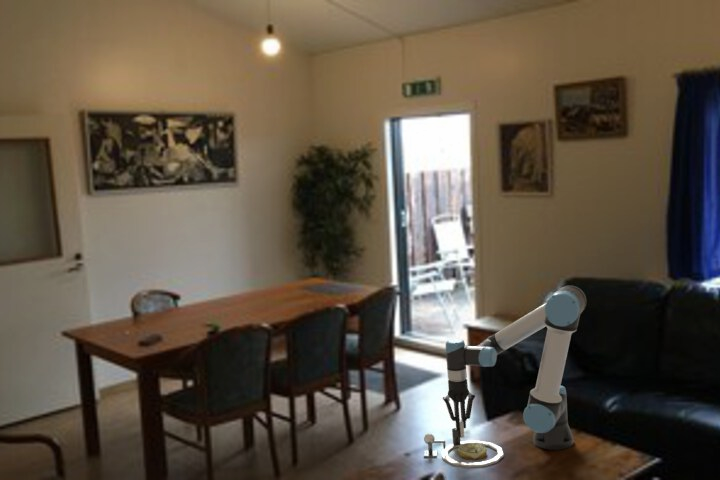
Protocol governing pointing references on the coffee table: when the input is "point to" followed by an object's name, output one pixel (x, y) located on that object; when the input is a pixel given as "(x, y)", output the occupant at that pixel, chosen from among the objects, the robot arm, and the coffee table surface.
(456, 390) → the robot arm
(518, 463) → the coffee table surface
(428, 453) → the dial indicator
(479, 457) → the decorated donut
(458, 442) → the ring
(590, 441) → the coffee table surface
